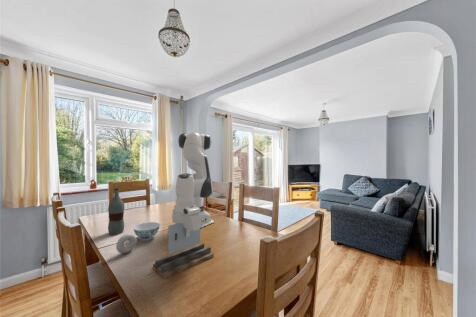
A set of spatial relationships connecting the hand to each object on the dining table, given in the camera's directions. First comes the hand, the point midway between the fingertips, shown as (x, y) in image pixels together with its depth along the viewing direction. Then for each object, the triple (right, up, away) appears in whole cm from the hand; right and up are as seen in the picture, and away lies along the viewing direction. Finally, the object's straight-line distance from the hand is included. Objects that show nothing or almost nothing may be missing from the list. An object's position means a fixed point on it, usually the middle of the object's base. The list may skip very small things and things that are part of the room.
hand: (185, 235), depth 95 cm
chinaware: (-32, -13, +28) cm, 44 cm away
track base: (0, -13, 0) cm, 13 cm away
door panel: (0, -6, 0) cm, 6 cm away
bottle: (-56, -13, +37) cm, 69 cm away
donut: (-33, -13, +9) cm, 37 cm away
